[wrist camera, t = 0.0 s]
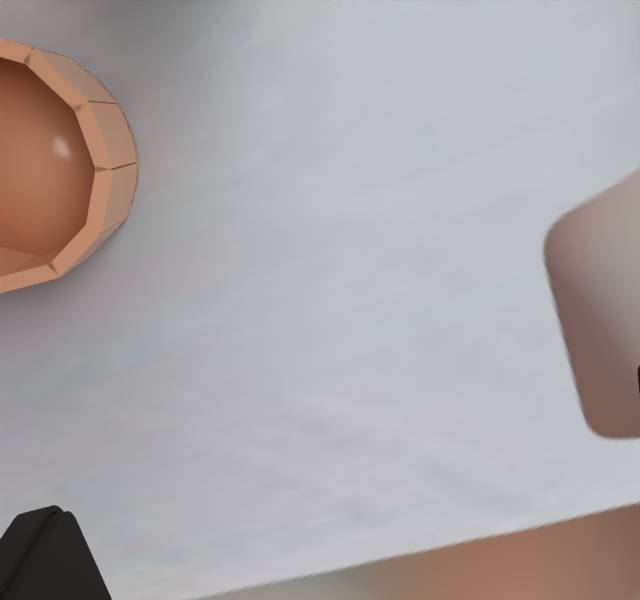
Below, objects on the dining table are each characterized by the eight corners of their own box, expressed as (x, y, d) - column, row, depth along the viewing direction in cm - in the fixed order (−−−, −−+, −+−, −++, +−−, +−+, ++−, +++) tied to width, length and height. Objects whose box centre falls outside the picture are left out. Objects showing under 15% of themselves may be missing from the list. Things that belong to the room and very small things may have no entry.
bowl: (-118, 78, 41) (-204, 70, 34) (94, 21, 41) (53, -1, 33) (-26, 284, 45) (-85, 315, 38) (166, 233, 45) (143, 255, 38)
